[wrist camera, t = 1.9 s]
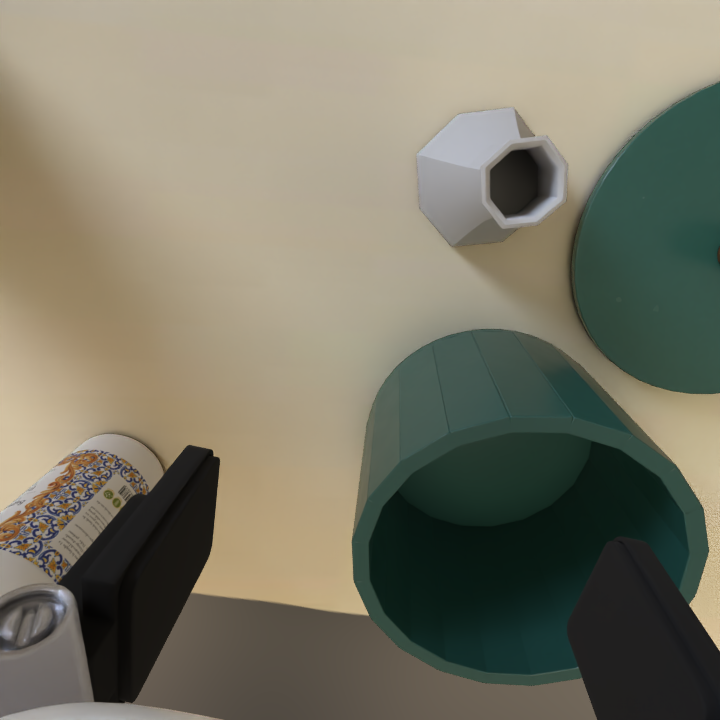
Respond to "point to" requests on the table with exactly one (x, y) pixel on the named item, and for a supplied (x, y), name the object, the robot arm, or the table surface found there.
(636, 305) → the tin lid
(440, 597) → the tin
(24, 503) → the bath foam
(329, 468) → the table surface
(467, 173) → the flask
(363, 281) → the table surface
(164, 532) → the robot arm
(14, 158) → the table surface
